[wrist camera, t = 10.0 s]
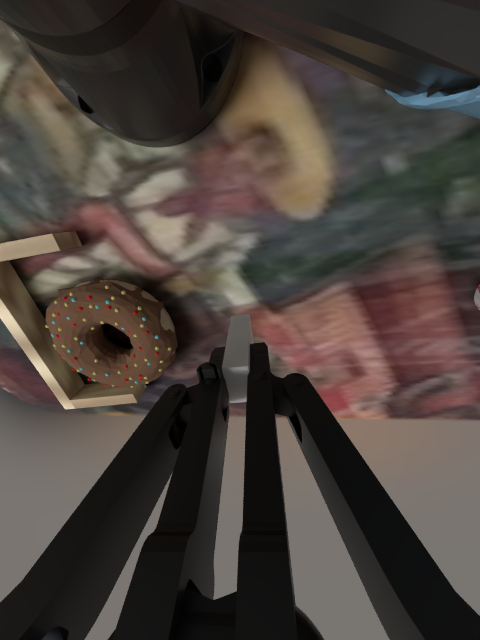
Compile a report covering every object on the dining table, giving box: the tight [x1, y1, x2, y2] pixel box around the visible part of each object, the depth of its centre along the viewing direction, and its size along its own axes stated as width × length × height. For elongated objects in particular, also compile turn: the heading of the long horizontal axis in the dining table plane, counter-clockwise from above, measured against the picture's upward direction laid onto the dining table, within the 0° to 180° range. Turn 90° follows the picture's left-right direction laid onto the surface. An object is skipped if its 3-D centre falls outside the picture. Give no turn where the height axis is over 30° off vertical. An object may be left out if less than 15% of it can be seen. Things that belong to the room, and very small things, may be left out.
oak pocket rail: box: [0, 231, 147, 409], centre depth 26 cm, size 21×10×3 cm, turn 10°
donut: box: [45, 277, 178, 388], centre depth 25 cm, size 14×14×5 cm
